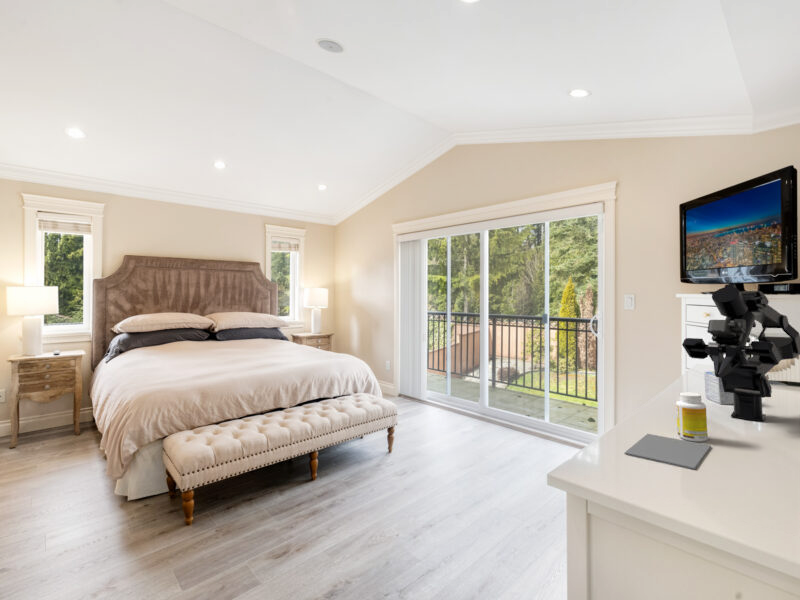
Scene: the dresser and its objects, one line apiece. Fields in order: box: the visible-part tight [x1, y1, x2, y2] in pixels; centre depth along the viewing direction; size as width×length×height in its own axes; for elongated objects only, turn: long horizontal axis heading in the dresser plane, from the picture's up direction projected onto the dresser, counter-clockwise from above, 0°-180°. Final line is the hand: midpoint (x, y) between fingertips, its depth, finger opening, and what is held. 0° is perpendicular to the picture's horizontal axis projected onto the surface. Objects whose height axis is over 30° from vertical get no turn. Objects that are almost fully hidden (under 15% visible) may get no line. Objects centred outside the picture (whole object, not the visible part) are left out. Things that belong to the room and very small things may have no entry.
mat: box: [624, 433, 712, 471], centre depth 85 cm, size 16×12×1 cm
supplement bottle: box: [675, 391, 709, 443], centre depth 92 cm, size 6×6×10 cm
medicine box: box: [704, 370, 734, 405], centre depth 123 cm, size 8×4×9 cm, turn 168°
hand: (718, 376), depth 98 cm, fingers closed
